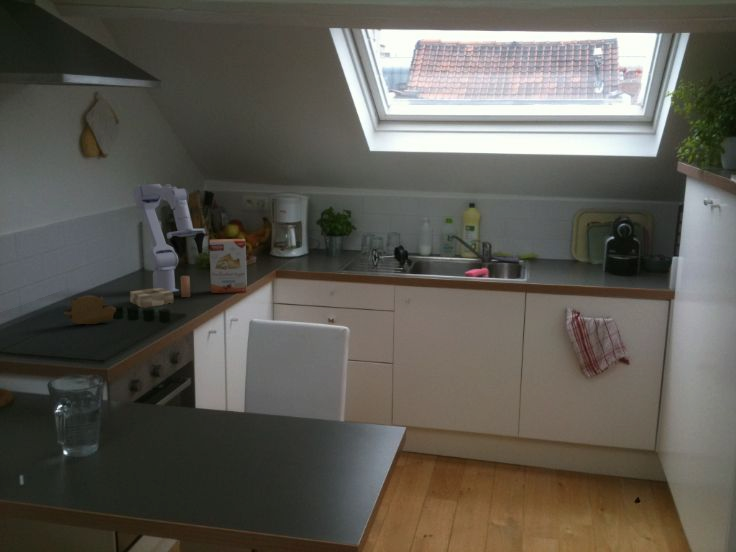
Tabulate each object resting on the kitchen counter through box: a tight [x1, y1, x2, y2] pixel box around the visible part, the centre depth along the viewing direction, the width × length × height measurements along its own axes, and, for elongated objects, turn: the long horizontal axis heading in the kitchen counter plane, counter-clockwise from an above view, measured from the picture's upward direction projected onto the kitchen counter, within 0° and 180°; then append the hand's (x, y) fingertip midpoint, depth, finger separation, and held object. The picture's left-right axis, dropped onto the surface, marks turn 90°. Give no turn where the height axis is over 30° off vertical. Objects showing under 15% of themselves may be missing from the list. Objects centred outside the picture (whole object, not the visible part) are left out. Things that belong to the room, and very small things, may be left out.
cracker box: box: [208, 238, 248, 294], centre depth 295 cm, size 14×6×21 cm, turn 99°
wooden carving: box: [63, 294, 117, 325], centre depth 247 cm, size 16×5×10 cm, turn 114°
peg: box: [180, 275, 192, 298], centre depth 287 cm, size 3×3×8 cm
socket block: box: [129, 287, 175, 309], centre depth 278 cm, size 12×12×4 cm
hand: (191, 254), depth 278 cm, fingers open, 7 cm apart
